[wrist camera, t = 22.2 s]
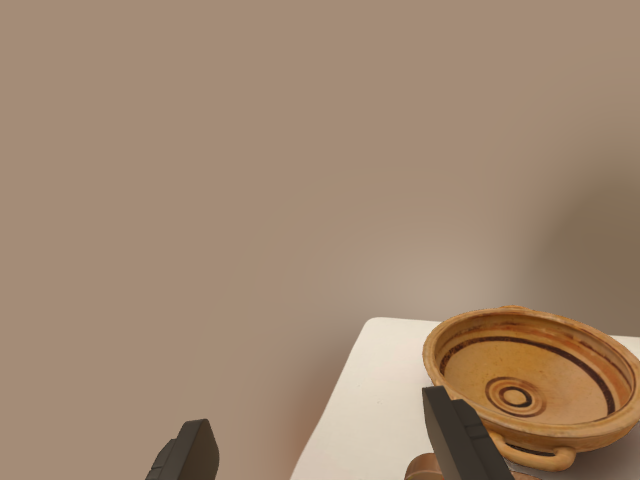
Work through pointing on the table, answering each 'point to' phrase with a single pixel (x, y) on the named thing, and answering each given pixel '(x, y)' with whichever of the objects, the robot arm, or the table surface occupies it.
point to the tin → (427, 474)
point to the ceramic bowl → (537, 381)
